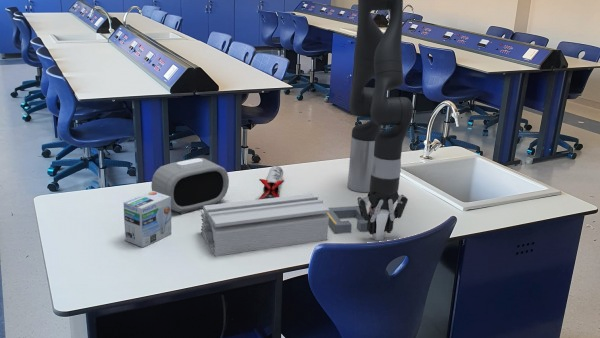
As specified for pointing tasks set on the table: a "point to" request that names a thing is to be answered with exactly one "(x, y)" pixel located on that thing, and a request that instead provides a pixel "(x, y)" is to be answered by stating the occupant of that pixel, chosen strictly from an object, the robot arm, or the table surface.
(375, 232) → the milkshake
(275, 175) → the model rocket
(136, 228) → the light bulb box
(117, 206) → the table surface
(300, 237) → the aluminum extrusion profile
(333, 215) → the grey flat c-shaped piece
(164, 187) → the alarm clock
